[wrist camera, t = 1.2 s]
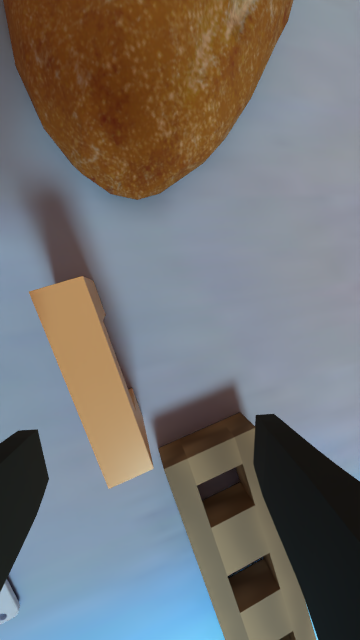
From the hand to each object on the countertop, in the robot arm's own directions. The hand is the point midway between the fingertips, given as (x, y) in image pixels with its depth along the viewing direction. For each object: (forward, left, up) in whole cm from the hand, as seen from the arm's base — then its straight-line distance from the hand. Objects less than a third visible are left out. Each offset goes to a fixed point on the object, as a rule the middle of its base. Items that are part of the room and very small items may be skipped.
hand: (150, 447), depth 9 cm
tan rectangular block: (-2, +1, -11) cm, 11 cm away
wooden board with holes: (+3, -19, -11) cm, 22 cm away
